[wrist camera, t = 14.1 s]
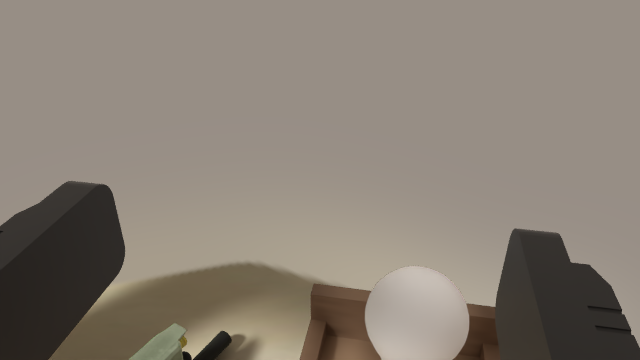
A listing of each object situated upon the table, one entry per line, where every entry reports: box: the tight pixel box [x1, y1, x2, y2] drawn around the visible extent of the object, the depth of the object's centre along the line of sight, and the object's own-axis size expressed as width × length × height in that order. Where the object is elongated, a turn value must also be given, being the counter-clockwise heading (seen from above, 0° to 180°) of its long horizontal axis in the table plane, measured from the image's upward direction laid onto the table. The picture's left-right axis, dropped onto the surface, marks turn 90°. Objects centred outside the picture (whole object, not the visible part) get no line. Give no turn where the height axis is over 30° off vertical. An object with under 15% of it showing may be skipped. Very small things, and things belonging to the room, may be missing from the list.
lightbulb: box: [365, 266, 469, 360], centre depth 32 cm, size 6×6×11 cm
